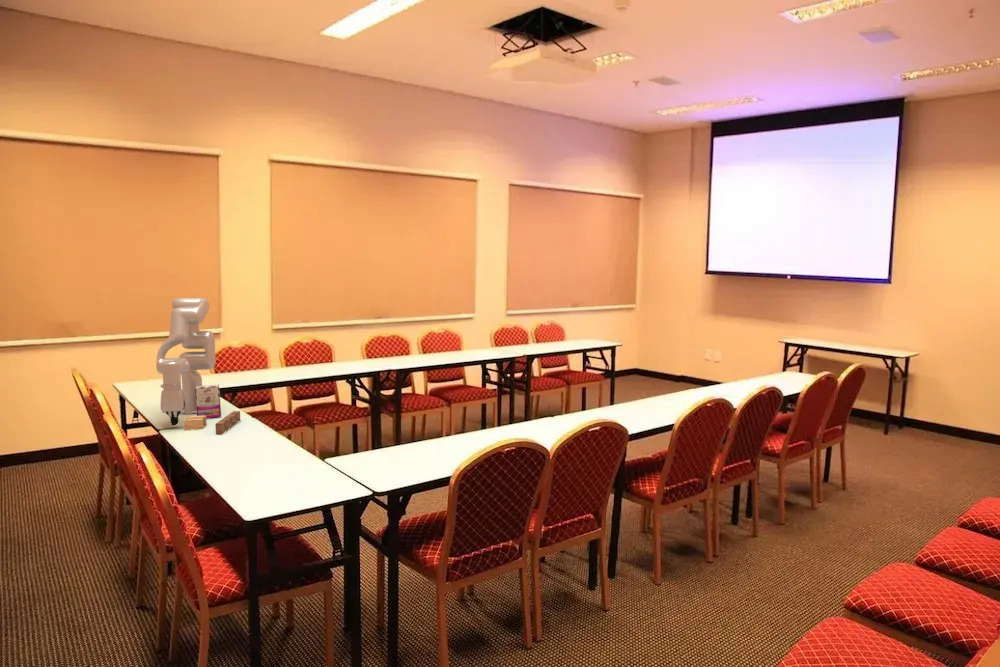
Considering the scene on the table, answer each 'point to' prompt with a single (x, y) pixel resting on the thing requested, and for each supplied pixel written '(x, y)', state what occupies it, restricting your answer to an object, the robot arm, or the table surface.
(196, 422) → the block
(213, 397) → the candy bar box
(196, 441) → the table surface
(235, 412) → the rail
